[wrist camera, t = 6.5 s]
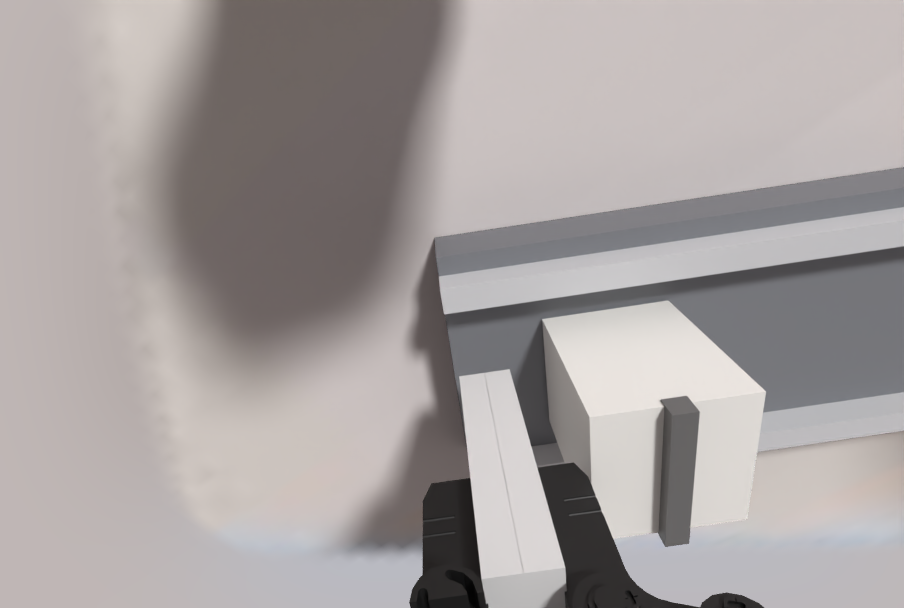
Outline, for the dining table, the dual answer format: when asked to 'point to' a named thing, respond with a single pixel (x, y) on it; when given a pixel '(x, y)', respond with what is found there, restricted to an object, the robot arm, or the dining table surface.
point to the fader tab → (653, 418)
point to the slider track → (708, 297)
